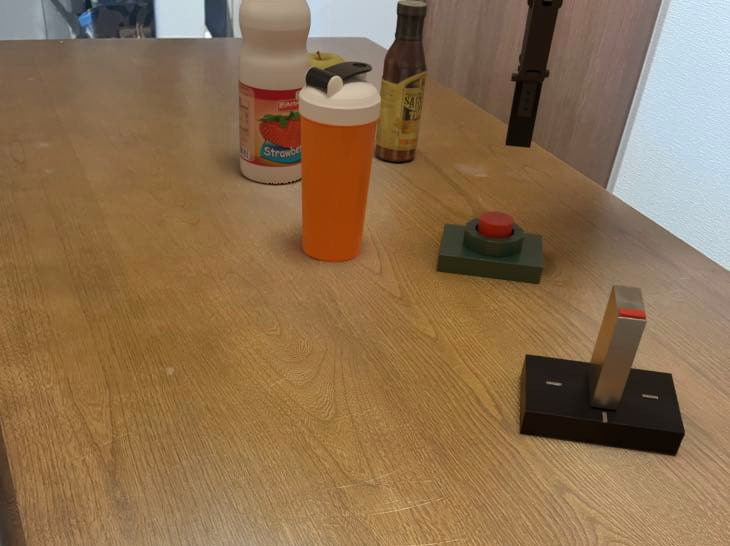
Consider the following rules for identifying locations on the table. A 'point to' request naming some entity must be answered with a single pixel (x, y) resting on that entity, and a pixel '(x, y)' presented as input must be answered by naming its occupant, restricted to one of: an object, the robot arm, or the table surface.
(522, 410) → the panel
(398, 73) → the sauce bottle
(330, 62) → the apple
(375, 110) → the shaker bottle
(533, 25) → the robot arm
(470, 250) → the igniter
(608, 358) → the grey tall block
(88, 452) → the table surface
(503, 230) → the button
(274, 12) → the fruit juice
